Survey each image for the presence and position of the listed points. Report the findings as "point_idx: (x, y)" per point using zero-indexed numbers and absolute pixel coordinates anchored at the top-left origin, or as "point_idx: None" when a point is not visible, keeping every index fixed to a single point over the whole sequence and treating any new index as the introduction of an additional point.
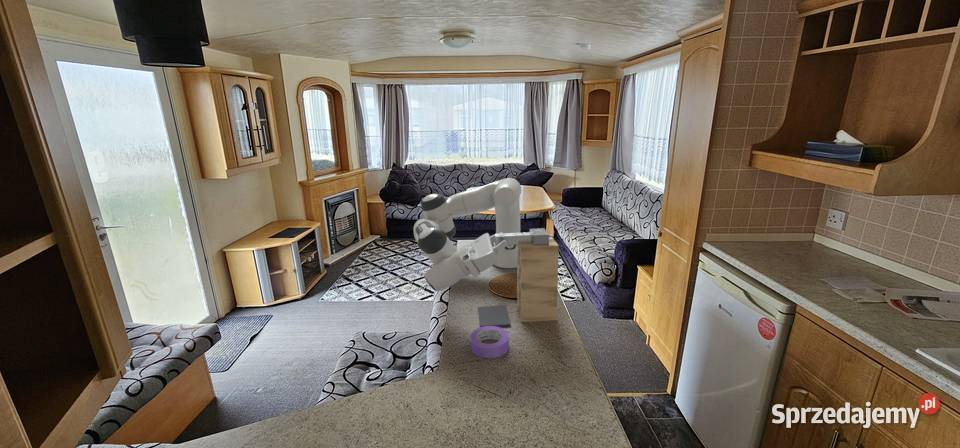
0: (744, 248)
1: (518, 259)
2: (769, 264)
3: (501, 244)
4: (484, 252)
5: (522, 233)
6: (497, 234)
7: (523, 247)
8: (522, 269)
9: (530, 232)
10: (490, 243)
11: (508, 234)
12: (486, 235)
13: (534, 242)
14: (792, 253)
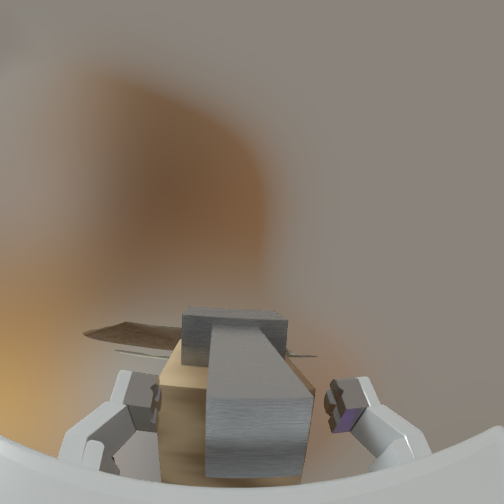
0: (111, 335)
1: (205, 477)
2: (150, 342)
3: (380, 410)
4: (489, 500)
5: (230, 333)
6: (235, 386)
7: (312, 386)
8: (298, 483)
9: (218, 325)
10: (339, 481)
11: (243, 356)
12: (16, 460)
13: (283, 353)
14: (138, 331)
